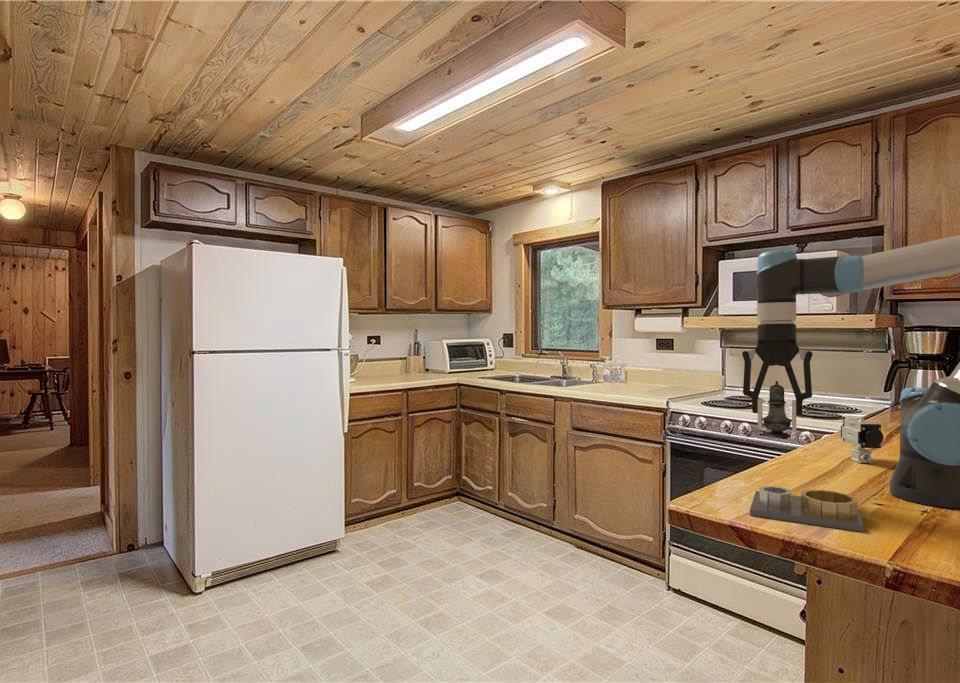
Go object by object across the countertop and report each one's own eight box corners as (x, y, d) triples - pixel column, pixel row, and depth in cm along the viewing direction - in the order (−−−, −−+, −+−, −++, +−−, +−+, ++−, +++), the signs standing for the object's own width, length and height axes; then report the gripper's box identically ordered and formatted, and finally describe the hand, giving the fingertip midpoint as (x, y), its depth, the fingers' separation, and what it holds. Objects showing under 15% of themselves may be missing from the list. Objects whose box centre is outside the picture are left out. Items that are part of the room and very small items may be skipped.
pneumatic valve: (857, 457, 155) (858, 414, 155) (884, 467, 143) (884, 421, 143) (836, 456, 155) (837, 413, 155) (861, 467, 144) (861, 420, 144)
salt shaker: (776, 439, 118) (776, 382, 118) (755, 434, 124) (755, 380, 124) (799, 437, 120) (798, 381, 120) (777, 432, 125) (777, 379, 125)
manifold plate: (857, 509, 111) (857, 491, 111) (863, 532, 99) (863, 511, 98) (755, 496, 120) (755, 479, 120) (749, 515, 108) (750, 496, 108)
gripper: (827, 322, 120) (827, 429, 120) (731, 323, 129) (731, 423, 130) (828, 321, 113) (828, 435, 114) (727, 323, 123) (727, 428, 123)
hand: (777, 429), depth 122 cm, fingers closed on salt shaker, 6 cm apart
